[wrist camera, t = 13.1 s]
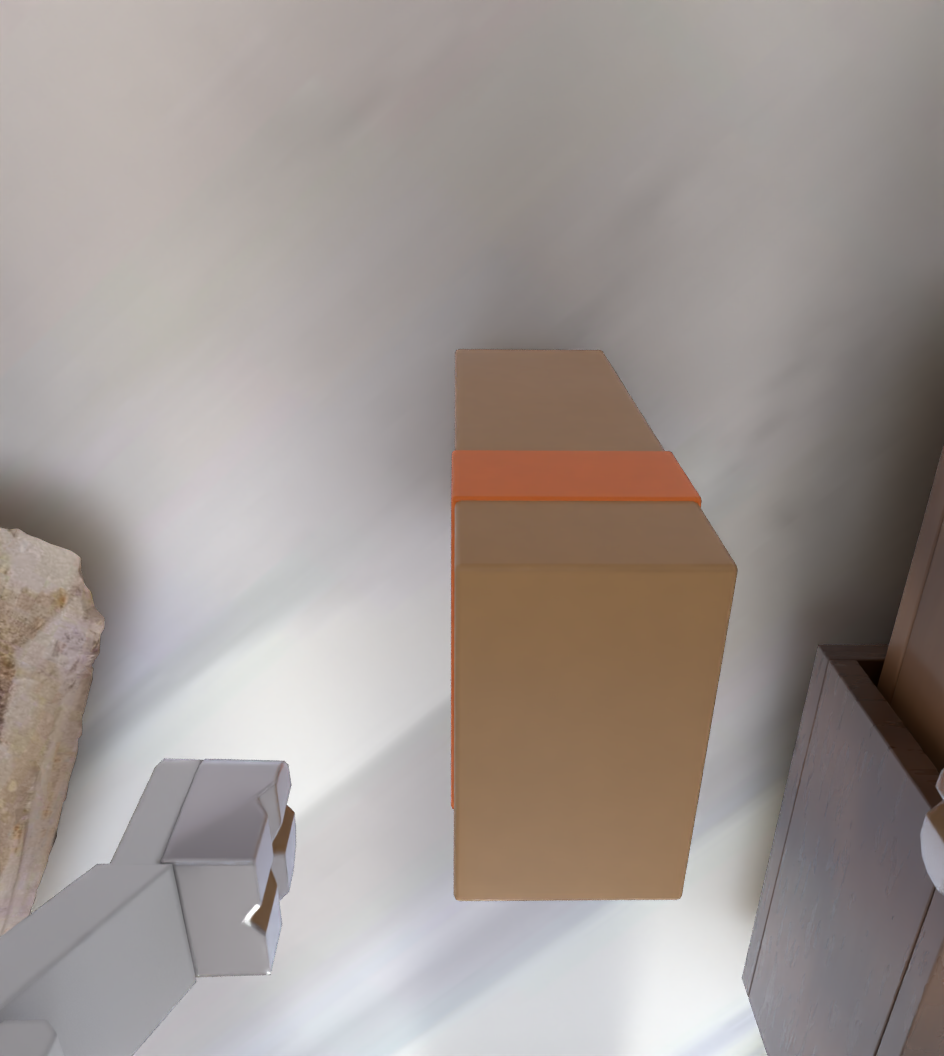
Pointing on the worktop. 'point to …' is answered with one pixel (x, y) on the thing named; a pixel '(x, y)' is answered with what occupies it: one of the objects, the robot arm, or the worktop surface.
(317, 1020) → the worktop surface
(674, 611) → the block
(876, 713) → the cabinet
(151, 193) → the worktop surface
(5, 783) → the fish fossil
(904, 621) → the drawer
